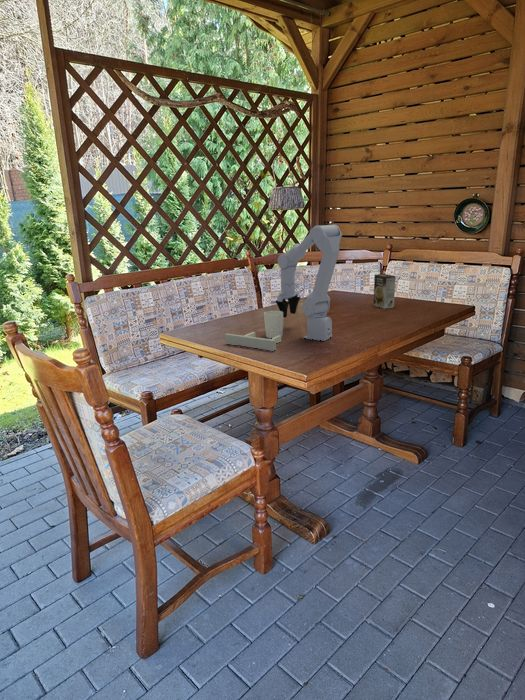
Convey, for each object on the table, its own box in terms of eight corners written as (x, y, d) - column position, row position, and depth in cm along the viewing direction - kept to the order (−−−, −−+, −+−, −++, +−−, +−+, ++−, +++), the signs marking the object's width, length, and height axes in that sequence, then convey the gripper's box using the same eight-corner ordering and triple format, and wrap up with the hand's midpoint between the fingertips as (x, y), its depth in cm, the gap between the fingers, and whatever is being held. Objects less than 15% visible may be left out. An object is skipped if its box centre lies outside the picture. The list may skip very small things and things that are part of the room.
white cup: (267, 340, 188) (266, 315, 185) (262, 335, 195) (261, 311, 192) (286, 338, 190) (285, 313, 187) (280, 333, 197) (279, 309, 194)
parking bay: (291, 343, 182) (290, 333, 181) (273, 351, 172) (273, 341, 171) (244, 336, 194) (243, 327, 192) (225, 344, 184) (225, 334, 182)
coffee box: (372, 306, 243) (373, 274, 239) (382, 304, 246) (384, 273, 241) (384, 309, 235) (385, 276, 231) (394, 307, 238) (396, 275, 233)
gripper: (288, 280, 204) (288, 311, 208) (270, 285, 192) (271, 317, 196) (302, 281, 200) (303, 312, 204) (285, 286, 189) (286, 319, 193)
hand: (288, 315), depth 200 cm, fingers open, 7 cm apart
